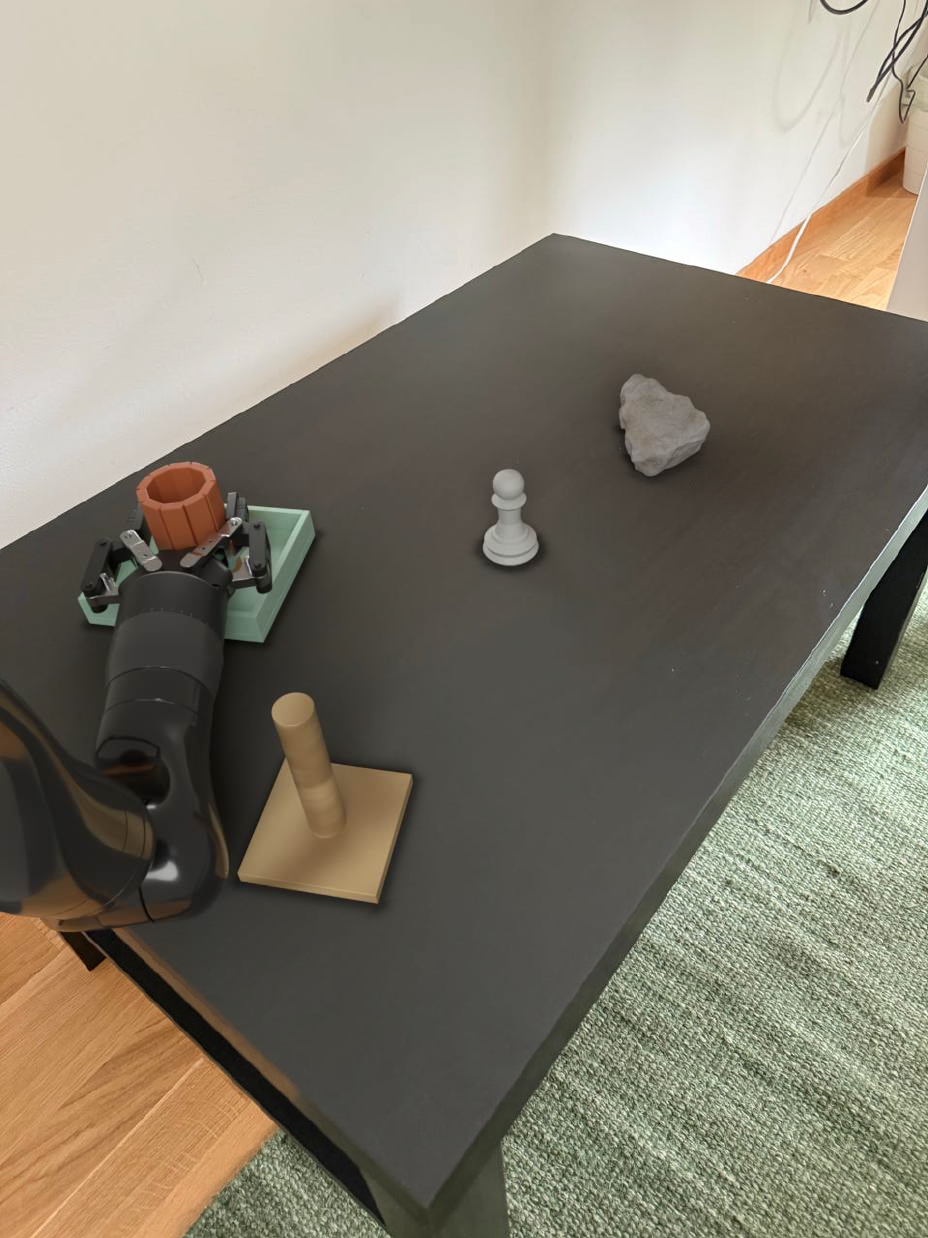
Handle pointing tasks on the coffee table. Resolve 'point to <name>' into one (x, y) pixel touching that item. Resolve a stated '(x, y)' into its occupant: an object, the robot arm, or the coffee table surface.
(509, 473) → the chess piece
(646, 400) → the stone
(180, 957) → the coffee table surface
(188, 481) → the ring collar
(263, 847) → the peg stand
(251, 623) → the tray
